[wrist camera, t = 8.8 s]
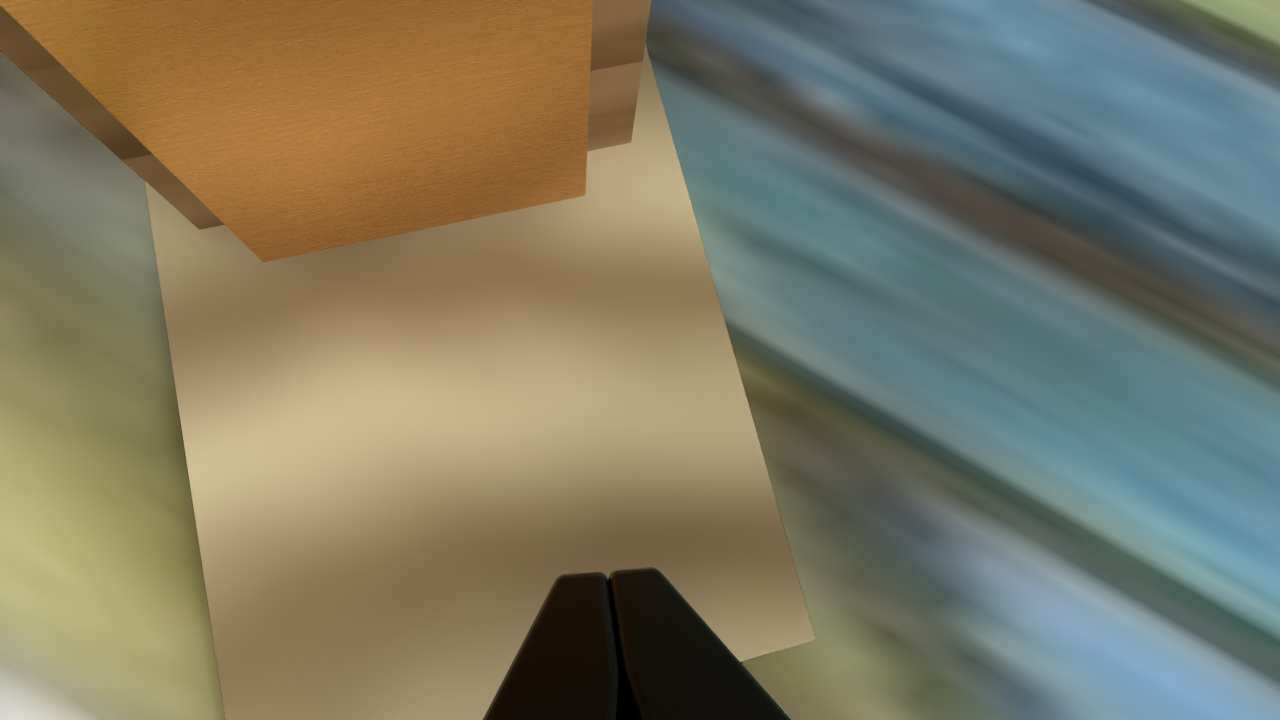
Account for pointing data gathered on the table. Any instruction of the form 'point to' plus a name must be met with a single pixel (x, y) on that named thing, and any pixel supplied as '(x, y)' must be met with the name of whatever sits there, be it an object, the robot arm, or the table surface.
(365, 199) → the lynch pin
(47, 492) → the table surface
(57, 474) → the table surface
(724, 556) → the hitch block
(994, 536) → the table surface
